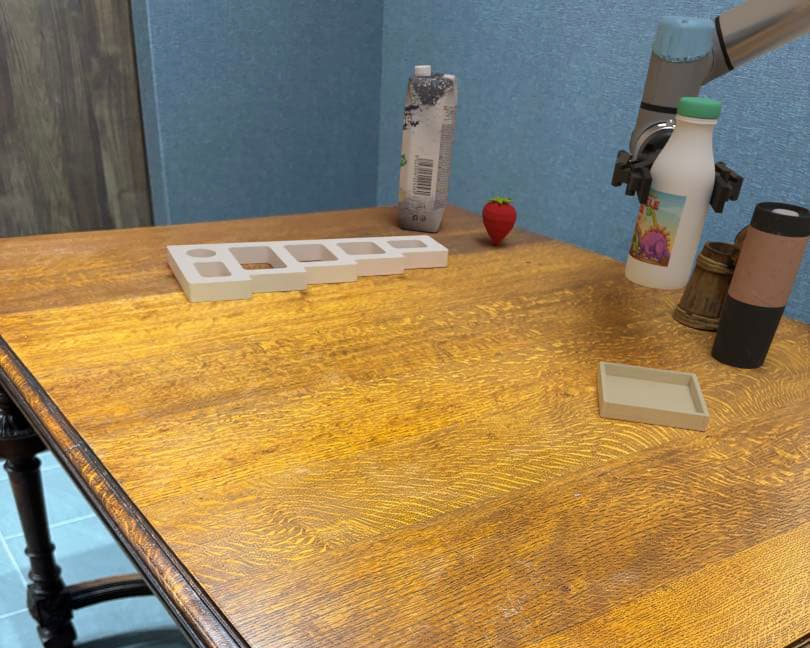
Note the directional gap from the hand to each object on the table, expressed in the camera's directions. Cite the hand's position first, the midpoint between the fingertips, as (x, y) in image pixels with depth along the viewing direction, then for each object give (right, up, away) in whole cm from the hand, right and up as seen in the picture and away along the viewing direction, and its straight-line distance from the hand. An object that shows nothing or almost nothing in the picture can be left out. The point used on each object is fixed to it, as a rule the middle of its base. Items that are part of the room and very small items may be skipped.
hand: (683, 195), depth 90 cm
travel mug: (+16, -13, +24) cm, 31 cm away
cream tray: (-1, -21, +10) cm, 23 cm away
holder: (-44, +4, +40) cm, 60 cm away
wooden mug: (+15, -6, +34) cm, 38 cm away
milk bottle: (0, -6, +10) cm, 12 cm away
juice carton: (-28, +23, +68) cm, 77 cm away
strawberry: (-14, +17, +61) cm, 65 cm away
